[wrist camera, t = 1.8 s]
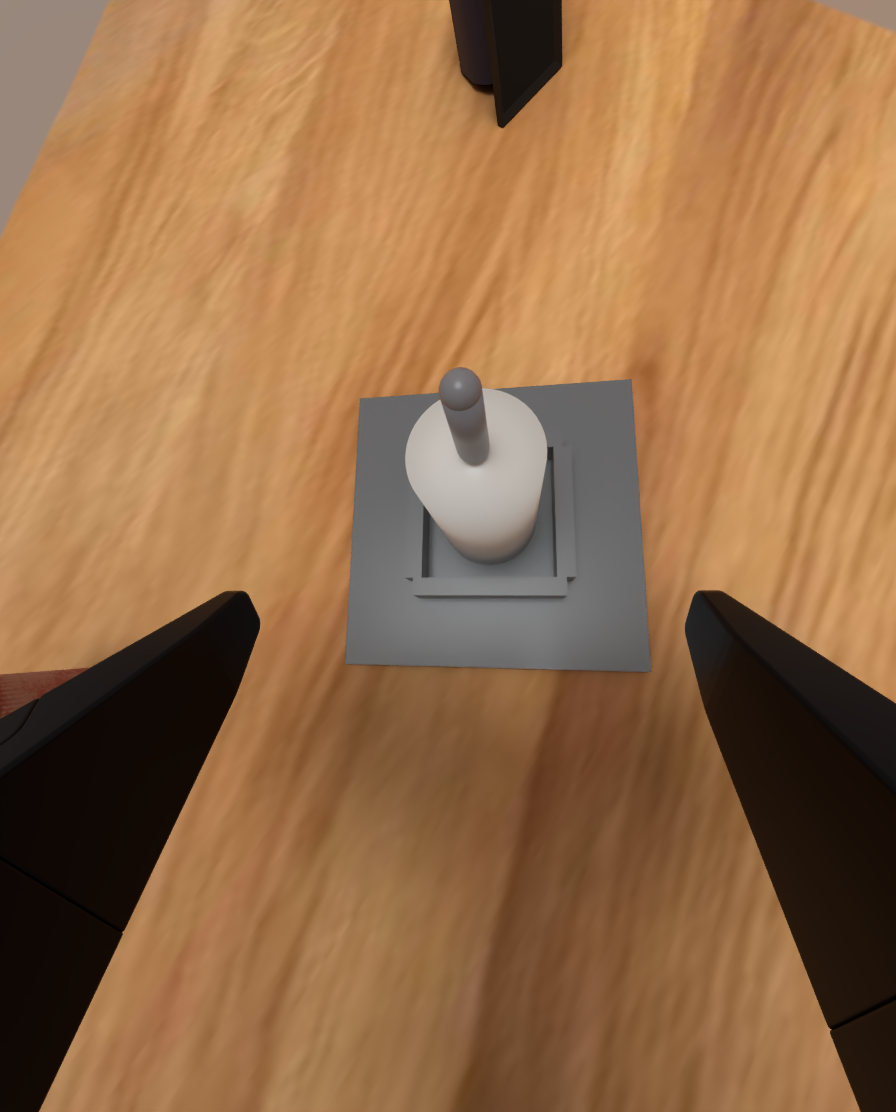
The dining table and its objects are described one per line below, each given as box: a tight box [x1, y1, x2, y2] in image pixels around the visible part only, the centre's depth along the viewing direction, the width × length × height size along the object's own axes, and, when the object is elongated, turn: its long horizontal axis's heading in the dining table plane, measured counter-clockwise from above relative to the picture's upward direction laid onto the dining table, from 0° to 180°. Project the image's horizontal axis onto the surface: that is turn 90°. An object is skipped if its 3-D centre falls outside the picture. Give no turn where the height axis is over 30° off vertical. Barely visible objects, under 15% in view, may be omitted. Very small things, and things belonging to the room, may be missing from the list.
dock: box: [345, 379, 651, 672], centre depth 21 cm, size 14×14×2 cm
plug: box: [405, 367, 547, 565], centre depth 15 cm, size 4×4×12 cm
